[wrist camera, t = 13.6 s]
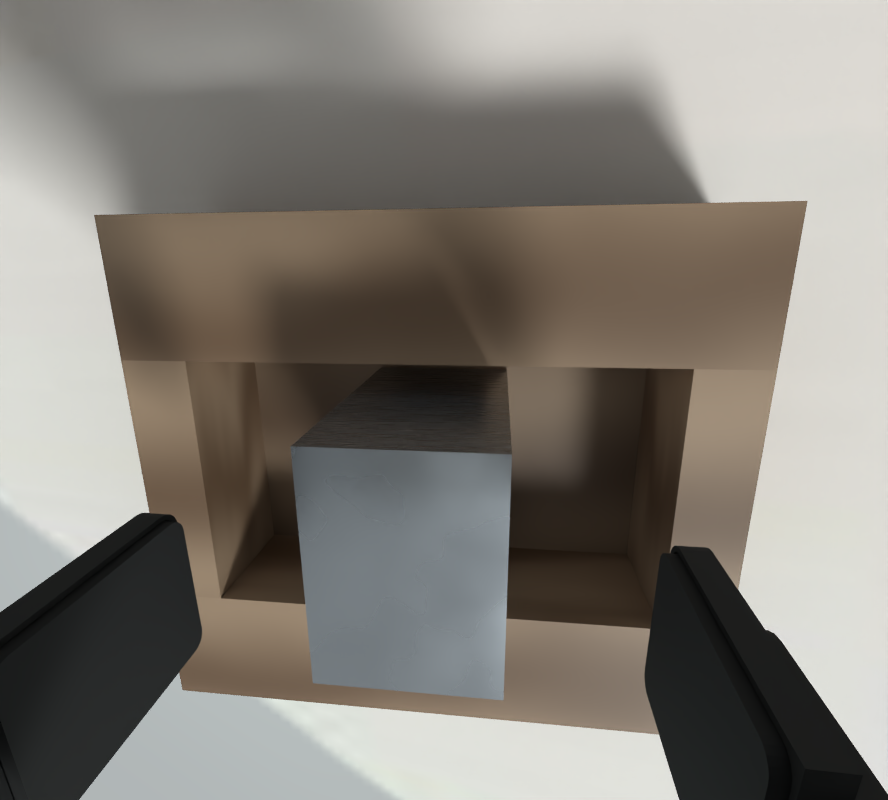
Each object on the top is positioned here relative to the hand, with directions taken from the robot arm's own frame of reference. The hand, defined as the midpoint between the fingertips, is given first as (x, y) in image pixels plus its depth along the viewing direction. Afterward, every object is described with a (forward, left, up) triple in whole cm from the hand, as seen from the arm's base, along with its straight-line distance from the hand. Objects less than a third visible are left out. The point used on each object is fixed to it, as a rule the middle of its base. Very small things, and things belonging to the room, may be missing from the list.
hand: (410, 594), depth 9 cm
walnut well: (+1, 0, -10) cm, 10 cm away
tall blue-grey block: (0, 0, -9) cm, 9 cm away
